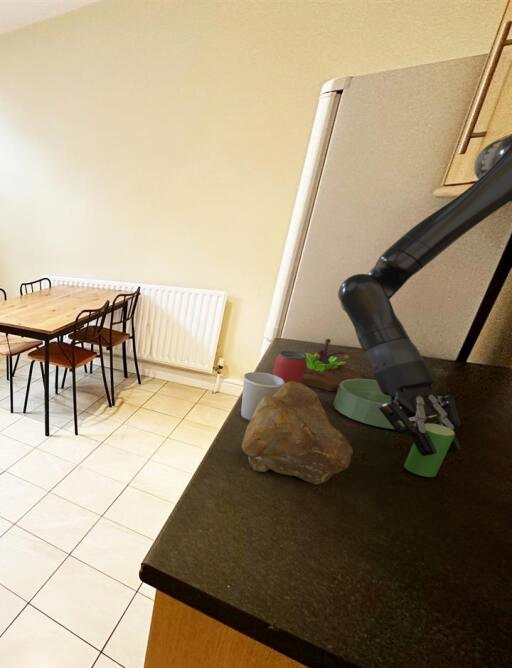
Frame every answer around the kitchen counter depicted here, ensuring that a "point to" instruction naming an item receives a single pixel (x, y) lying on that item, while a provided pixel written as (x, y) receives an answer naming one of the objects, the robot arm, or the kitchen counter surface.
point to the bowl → (362, 402)
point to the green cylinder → (432, 463)
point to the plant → (327, 370)
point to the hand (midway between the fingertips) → (441, 452)
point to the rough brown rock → (295, 436)
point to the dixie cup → (258, 390)
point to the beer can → (290, 366)
